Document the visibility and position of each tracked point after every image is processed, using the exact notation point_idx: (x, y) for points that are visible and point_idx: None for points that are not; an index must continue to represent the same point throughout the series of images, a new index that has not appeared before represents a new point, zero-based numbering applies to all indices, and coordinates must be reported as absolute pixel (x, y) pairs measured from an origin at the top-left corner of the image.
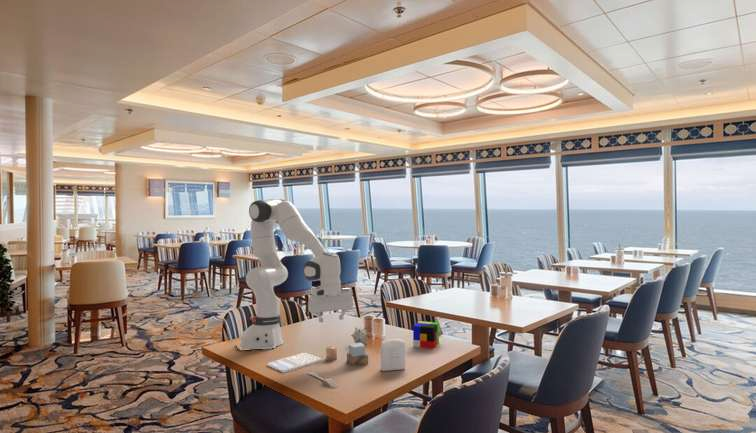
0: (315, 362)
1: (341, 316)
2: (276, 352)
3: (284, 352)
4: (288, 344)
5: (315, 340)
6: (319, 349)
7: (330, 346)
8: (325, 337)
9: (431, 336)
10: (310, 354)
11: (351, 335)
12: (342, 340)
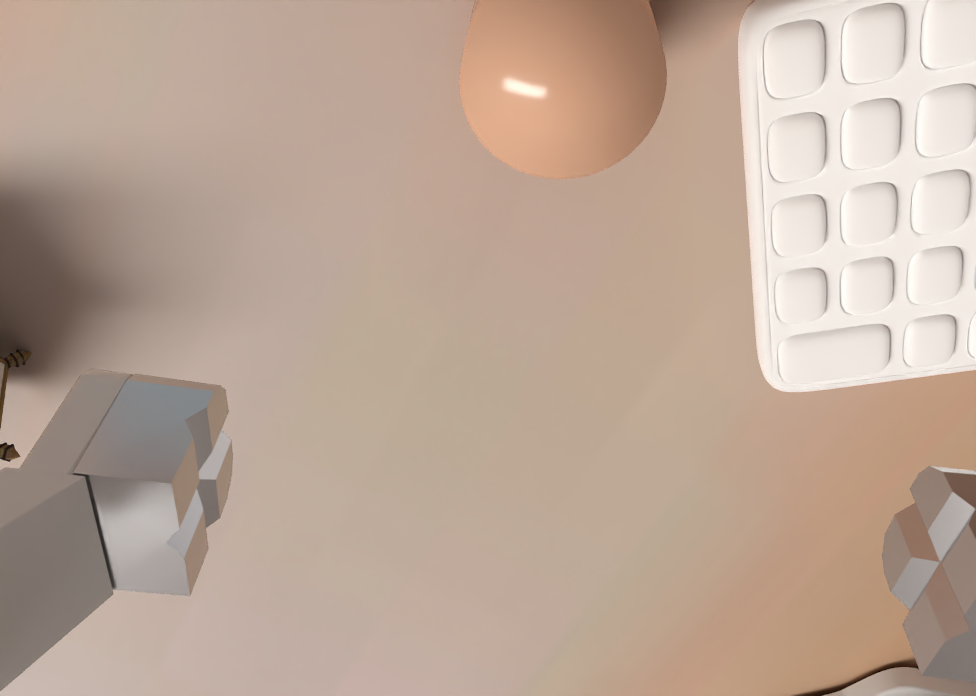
0: None
1: (128, 458)
2: None
3: None
4: (698, 689)
5: (408, 660)
6: (507, 436)
7: (541, 157)
8: (278, 678)
9: None
10: (764, 288)
11: (10, 451)
12: None
